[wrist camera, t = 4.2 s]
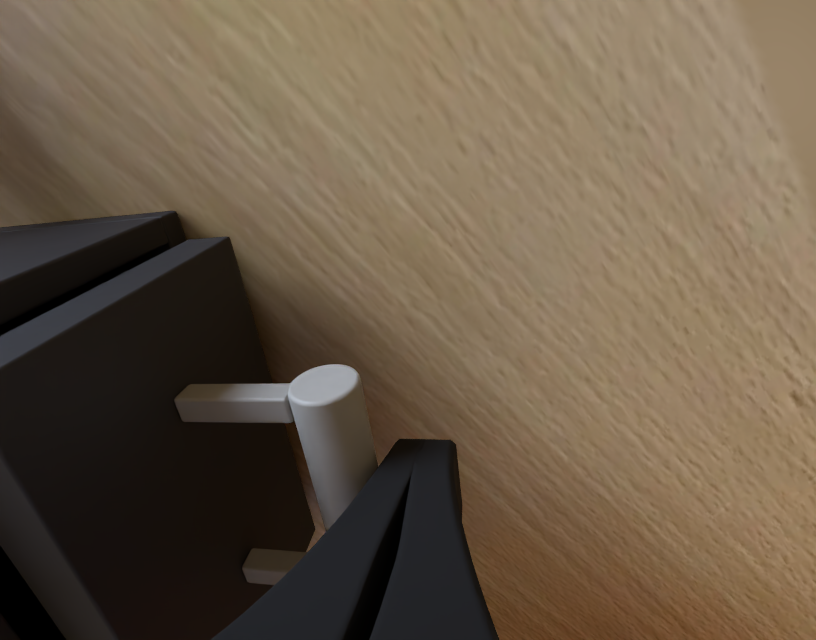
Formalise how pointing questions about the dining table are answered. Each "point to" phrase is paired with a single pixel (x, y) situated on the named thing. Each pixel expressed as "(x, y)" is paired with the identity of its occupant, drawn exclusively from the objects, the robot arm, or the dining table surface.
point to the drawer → (160, 455)
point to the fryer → (74, 264)
